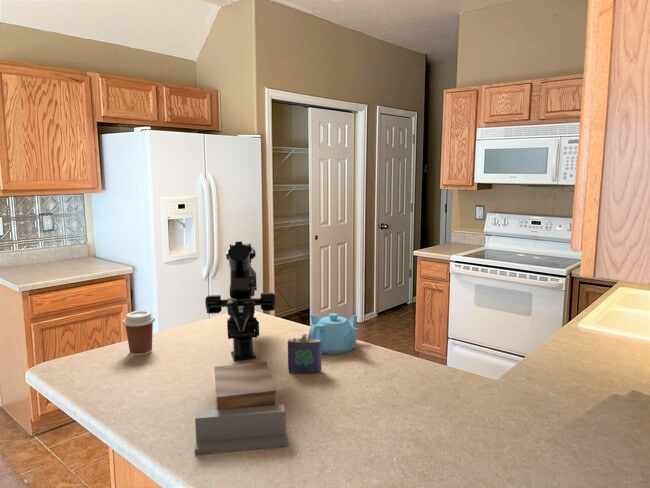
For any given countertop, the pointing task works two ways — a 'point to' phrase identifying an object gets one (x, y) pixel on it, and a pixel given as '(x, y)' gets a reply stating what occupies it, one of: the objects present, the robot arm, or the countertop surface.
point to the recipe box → (244, 386)
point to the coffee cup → (139, 332)
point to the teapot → (334, 333)
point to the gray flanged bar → (240, 429)
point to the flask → (304, 355)
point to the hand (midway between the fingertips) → (241, 331)
